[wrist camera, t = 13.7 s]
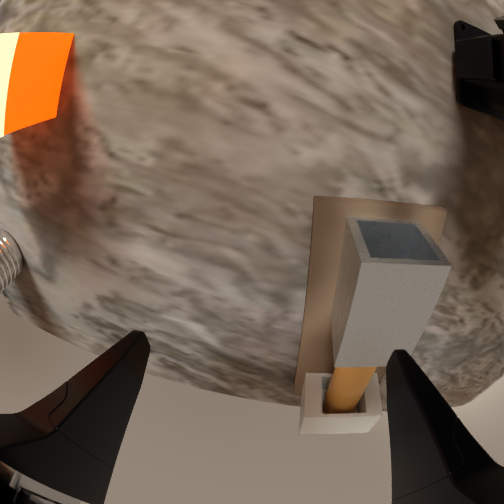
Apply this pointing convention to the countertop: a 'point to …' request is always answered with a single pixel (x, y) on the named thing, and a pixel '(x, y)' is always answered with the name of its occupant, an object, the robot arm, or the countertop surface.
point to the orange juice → (31, 77)
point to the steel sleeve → (384, 289)
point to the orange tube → (346, 389)
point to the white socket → (322, 423)
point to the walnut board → (327, 266)
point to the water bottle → (9, 260)
